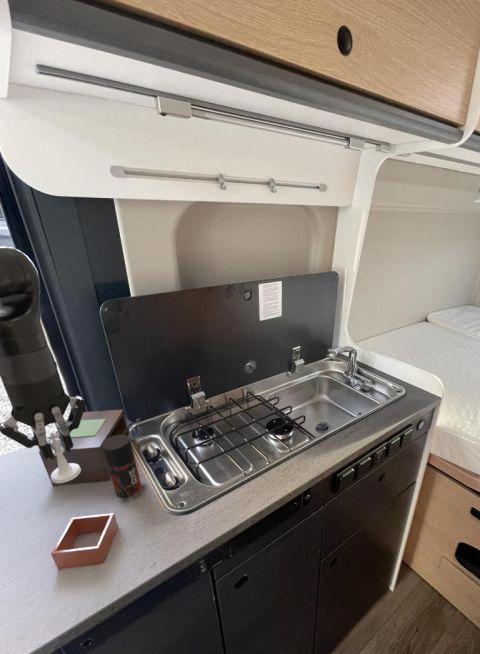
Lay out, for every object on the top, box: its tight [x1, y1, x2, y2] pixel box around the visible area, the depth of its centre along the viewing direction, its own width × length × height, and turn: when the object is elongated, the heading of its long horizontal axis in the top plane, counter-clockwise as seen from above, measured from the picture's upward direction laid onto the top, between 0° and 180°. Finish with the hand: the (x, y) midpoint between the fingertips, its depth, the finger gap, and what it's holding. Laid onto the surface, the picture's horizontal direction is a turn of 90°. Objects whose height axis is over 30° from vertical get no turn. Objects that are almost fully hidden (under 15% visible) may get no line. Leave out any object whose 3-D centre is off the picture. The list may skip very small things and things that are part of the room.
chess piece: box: [46, 431, 81, 483], centre depth 63 cm, size 5×5×10 cm
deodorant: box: [102, 435, 142, 499], centre depth 81 cm, size 6×6×15 cm
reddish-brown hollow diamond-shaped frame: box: [50, 512, 119, 570], centre depth 68 cm, size 9×9×4 cm
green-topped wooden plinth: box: [38, 409, 130, 486], centre depth 92 cm, size 14×18×11 cm
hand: (59, 453), depth 62 cm, fingers closed on chess piece
